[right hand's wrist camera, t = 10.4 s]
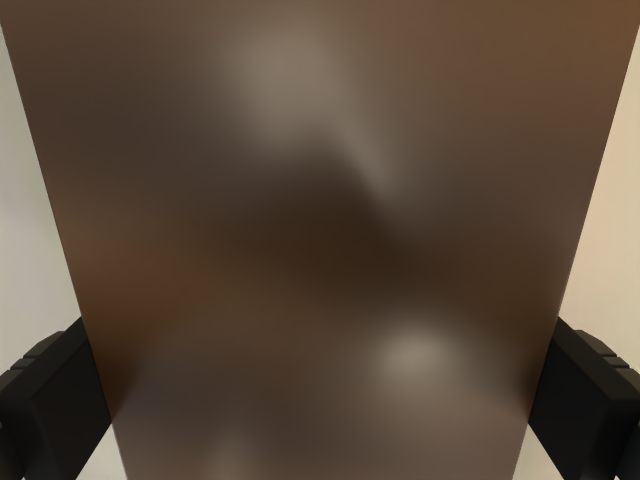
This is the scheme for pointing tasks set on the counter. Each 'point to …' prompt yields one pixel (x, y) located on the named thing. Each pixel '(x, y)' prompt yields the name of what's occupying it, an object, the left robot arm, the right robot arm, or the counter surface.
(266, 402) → the cabinet
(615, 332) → the counter surface
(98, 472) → the counter surface
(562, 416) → the right robot arm
